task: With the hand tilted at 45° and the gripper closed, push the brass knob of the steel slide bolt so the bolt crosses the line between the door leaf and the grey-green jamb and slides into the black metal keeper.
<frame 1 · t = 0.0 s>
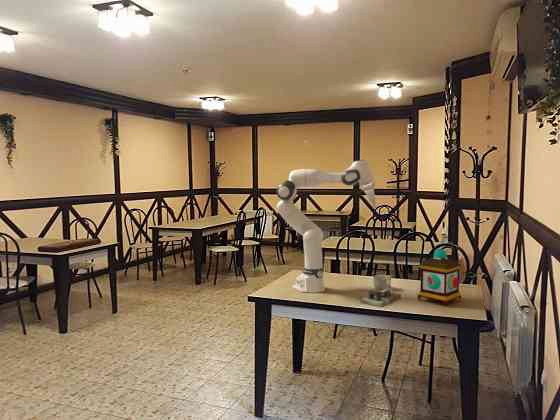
hand: (375, 207, 256), 52 cm above the table, tool tilted 20°, fingers open, 8 cm apart
teacup: (381, 288, 270), on the table
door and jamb: (380, 300, 244), on the table
decorative lantern: (439, 301, 242), on the table
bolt: (385, 284, 247), point 8 cm above the table, slide at 0.0 cm
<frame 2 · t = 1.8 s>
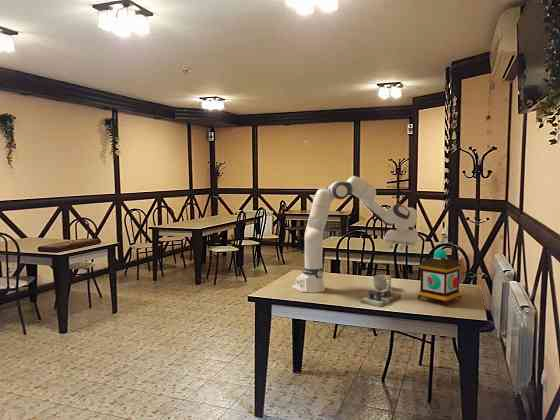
hand: (395, 248, 257), 27 cm above the table, tool tilted 45°, fingers open, 5 cm apart
nothing on the table moved.
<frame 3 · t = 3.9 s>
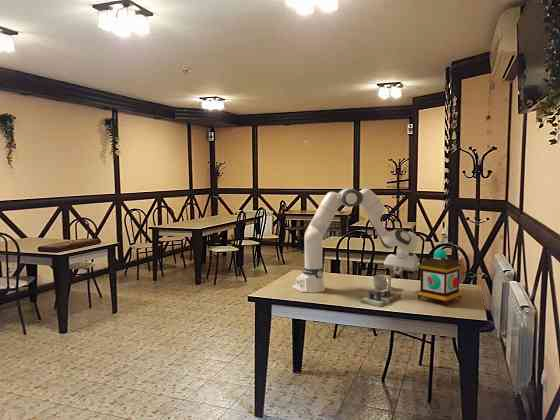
hand: (396, 274, 256), 12 cm above the table, tool tilted 45°, fingers closed
nothing on the table moved.
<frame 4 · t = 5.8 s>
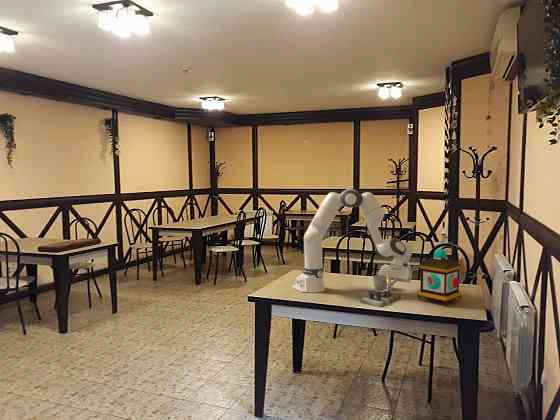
hand: (389, 285, 251), 7 cm above the table, tool tilted 45°, fingers closed, pressing on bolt
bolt: (385, 284, 247), point 8 cm above the table, slide at 0.0 cm, touching gripper
everything else where it was.
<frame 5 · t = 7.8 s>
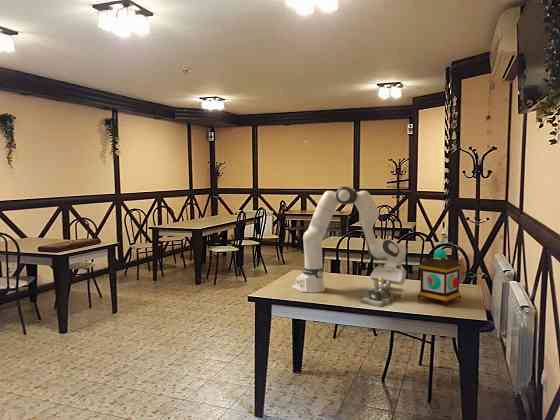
hand: (382, 287, 245), 7 cm above the table, tool tilted 45°, fingers closed, pressing on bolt
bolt: (377, 287, 241), point 8 cm above the table, slide at 8.5 cm, touching gripper
everything else where it was.
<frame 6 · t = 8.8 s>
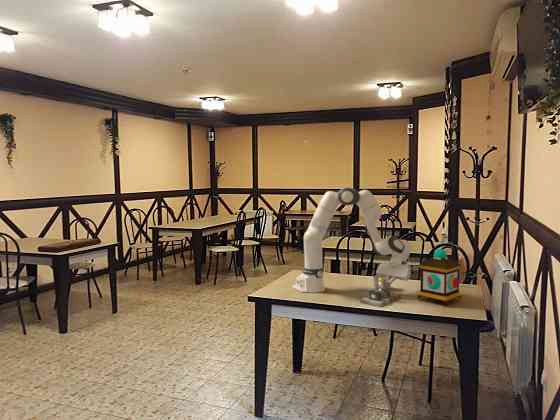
hand: (388, 283, 249), 8 cm above the table, tool tilted 45°, fingers closed
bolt: (377, 287, 241), point 8 cm above the table, slide at 8.5 cm
everything else where it was.
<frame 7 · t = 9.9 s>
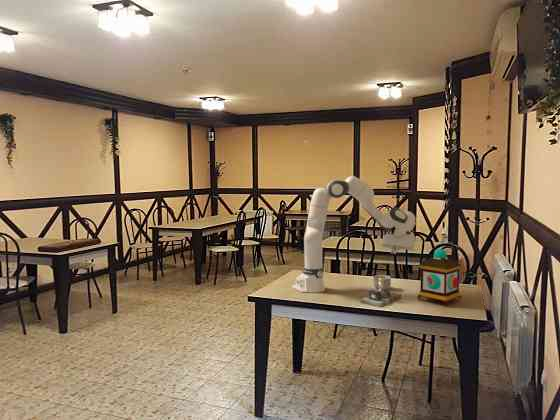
hand: (392, 253, 252), 26 cm above the table, tool tilted 45°, fingers closed
nothing on the table moved.
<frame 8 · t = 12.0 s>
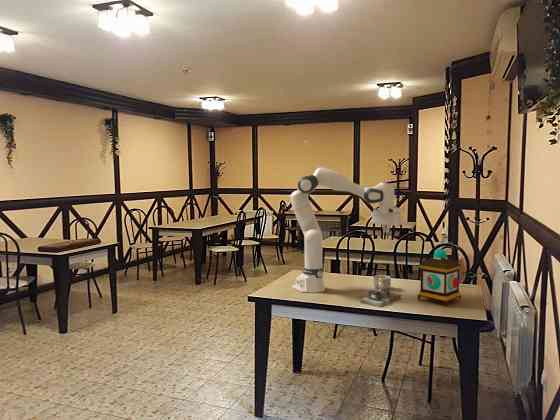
hand: (386, 232, 258), 37 cm above the table, tool pointing down, fingers closed
nothing on the table moved.
at the end: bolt slide at 8.5 cm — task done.
